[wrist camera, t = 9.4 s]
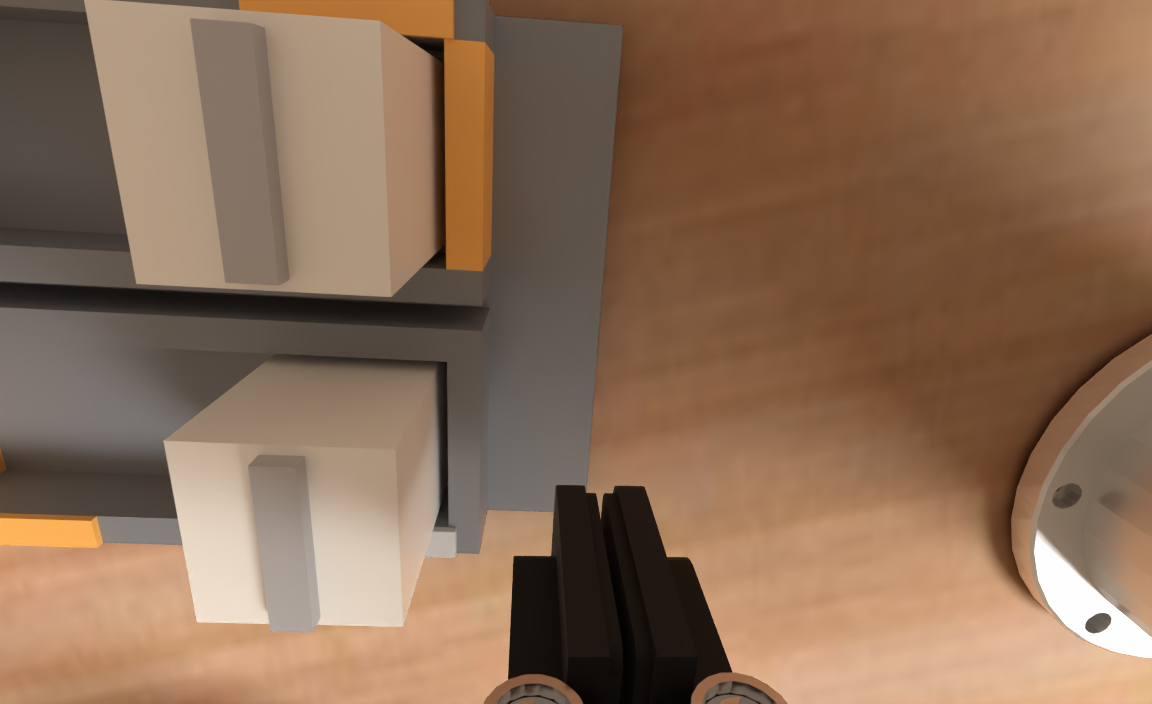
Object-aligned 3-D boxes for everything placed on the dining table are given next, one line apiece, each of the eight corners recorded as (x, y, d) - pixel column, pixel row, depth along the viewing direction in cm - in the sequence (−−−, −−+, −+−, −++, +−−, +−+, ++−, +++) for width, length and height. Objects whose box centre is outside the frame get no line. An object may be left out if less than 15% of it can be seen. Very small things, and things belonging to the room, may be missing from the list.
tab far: (447, 347, 16) (389, 460, 10) (448, 479, 17) (398, 642, 12) (292, 340, 16) (148, 451, 10) (305, 474, 17) (185, 638, 11)
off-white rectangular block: (445, 65, 14) (371, 15, 8) (447, 241, 15) (384, 303, 9) (265, 51, 13) (60, -9, 8) (282, 232, 15) (119, 289, 9)
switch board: (618, 32, 15) (635, 5, 12) (582, 494, 19) (588, 562, 16) (-265, -35, 14) (-499, -85, 11) (-89, 470, 18) (-219, 538, 15)
